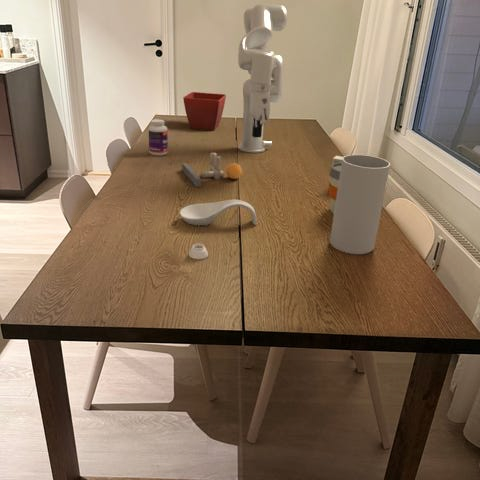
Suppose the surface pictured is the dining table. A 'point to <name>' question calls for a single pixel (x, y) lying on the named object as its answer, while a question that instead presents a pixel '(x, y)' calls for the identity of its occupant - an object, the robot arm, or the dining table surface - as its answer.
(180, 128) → the dining table surface
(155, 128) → the pill bottle
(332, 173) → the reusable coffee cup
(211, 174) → the front pin
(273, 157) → the dining table surface
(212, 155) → the back right pin
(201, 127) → the plant pot
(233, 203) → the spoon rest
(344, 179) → the cylinder vase
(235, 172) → the ball
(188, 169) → the back wall
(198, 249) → the white jar
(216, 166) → the back left pin
